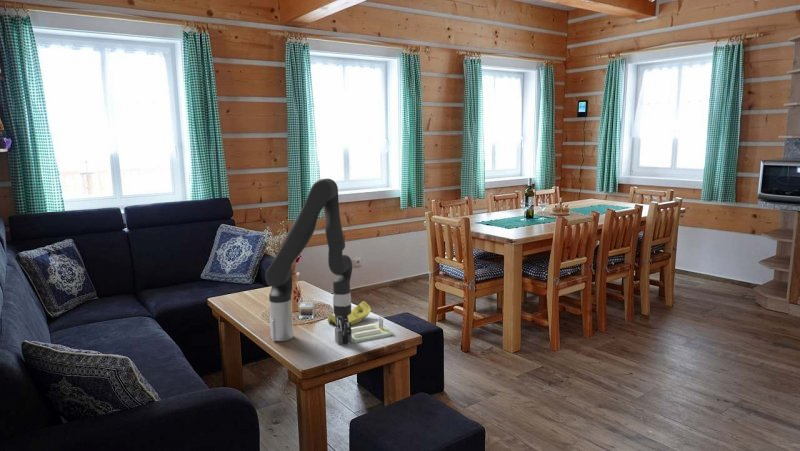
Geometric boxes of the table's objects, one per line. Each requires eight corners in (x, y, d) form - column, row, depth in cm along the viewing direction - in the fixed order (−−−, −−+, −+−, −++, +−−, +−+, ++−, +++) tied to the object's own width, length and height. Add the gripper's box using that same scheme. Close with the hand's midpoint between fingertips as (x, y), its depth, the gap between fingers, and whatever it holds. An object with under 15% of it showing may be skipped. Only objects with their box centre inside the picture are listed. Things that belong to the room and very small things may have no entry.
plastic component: (341, 325, 245) (328, 311, 250) (338, 336, 249) (326, 323, 254) (375, 311, 258) (362, 298, 263) (371, 322, 262) (359, 310, 267)
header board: (354, 342, 230) (354, 328, 229) (344, 332, 242) (343, 319, 241) (393, 335, 238) (393, 321, 237) (381, 325, 250) (381, 312, 248)
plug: (338, 345, 228) (337, 330, 227) (335, 341, 232) (334, 327, 231) (351, 342, 231) (351, 328, 230) (348, 339, 234) (348, 325, 233)
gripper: (328, 299, 233) (329, 337, 236) (339, 309, 220) (340, 348, 223) (344, 296, 236) (346, 334, 239) (356, 306, 223) (357, 345, 226)
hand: (343, 340), depth 231 cm, fingers open, 5 cm apart
